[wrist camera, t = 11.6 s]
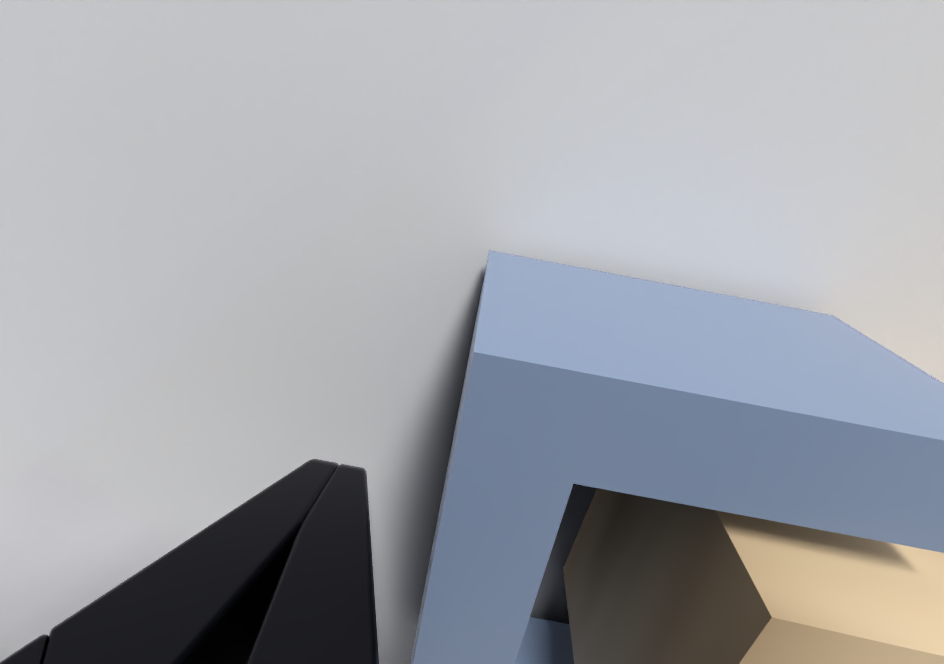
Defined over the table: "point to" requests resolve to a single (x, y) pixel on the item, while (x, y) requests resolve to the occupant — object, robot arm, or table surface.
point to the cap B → (659, 436)
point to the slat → (744, 590)
